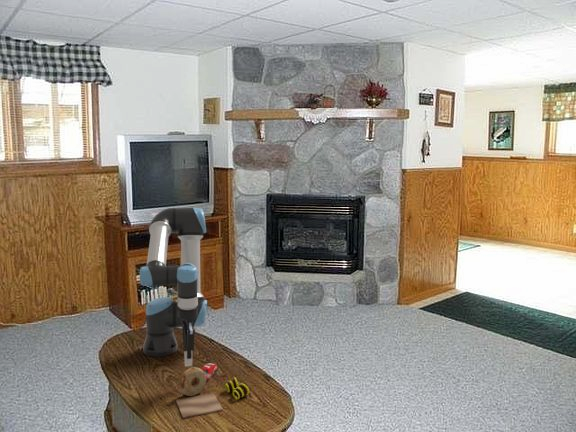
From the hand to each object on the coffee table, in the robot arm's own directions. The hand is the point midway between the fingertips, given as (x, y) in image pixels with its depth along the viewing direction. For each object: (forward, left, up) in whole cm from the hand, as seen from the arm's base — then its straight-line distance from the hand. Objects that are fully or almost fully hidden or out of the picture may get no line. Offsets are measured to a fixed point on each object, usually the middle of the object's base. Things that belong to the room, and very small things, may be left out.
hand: (188, 365), depth 190 cm
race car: (-4, +8, -9) cm, 12 cm away
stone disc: (+8, 0, -8) cm, 11 cm away
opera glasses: (+13, +15, -8) cm, 22 cm away
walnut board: (+17, 0, -8) cm, 19 cm away
